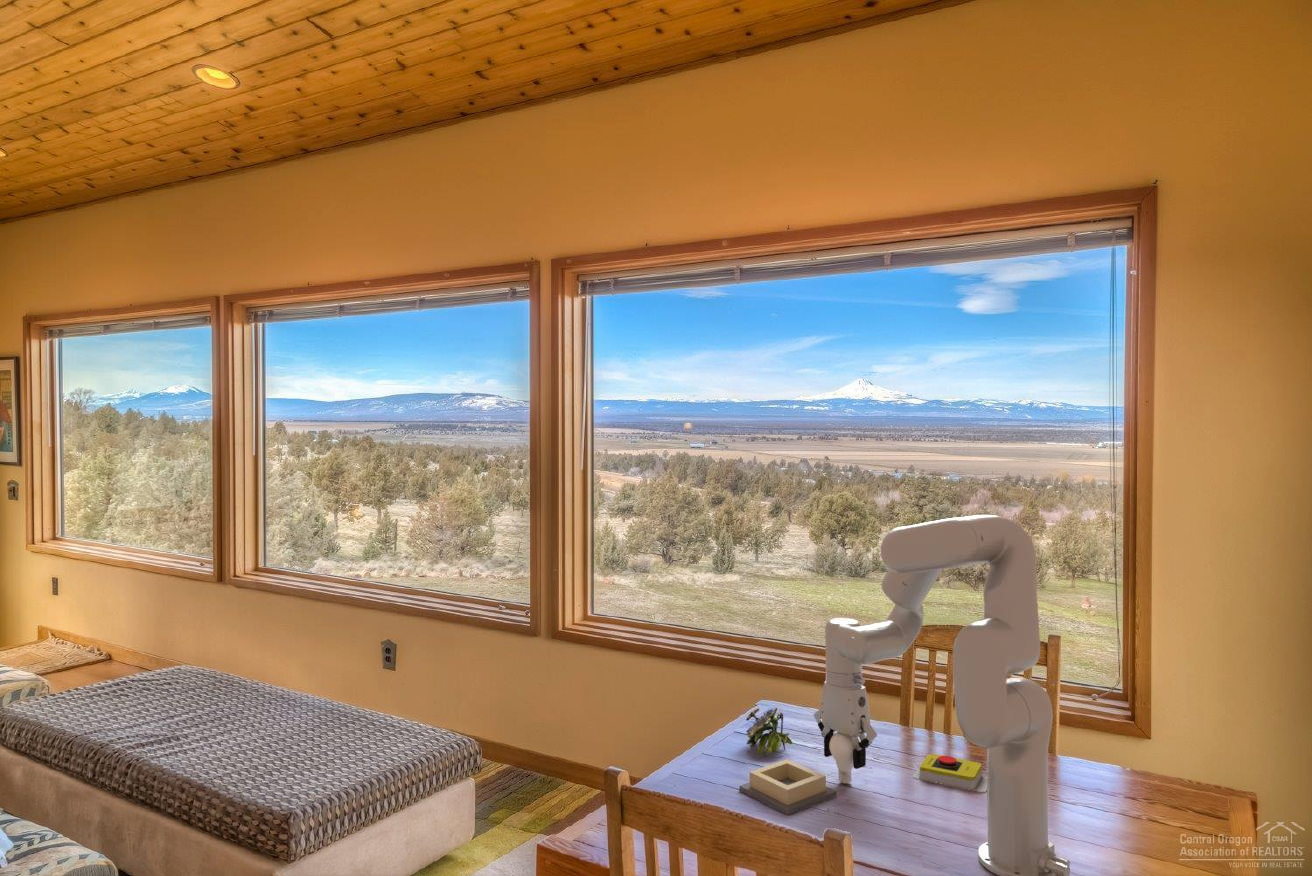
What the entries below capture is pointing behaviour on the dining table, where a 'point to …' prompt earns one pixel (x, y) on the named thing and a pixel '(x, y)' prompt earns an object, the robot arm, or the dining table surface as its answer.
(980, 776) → the emergency button
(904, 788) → the dining table surface
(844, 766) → the lightbulb
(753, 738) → the green leafy plant
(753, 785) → the socket block
